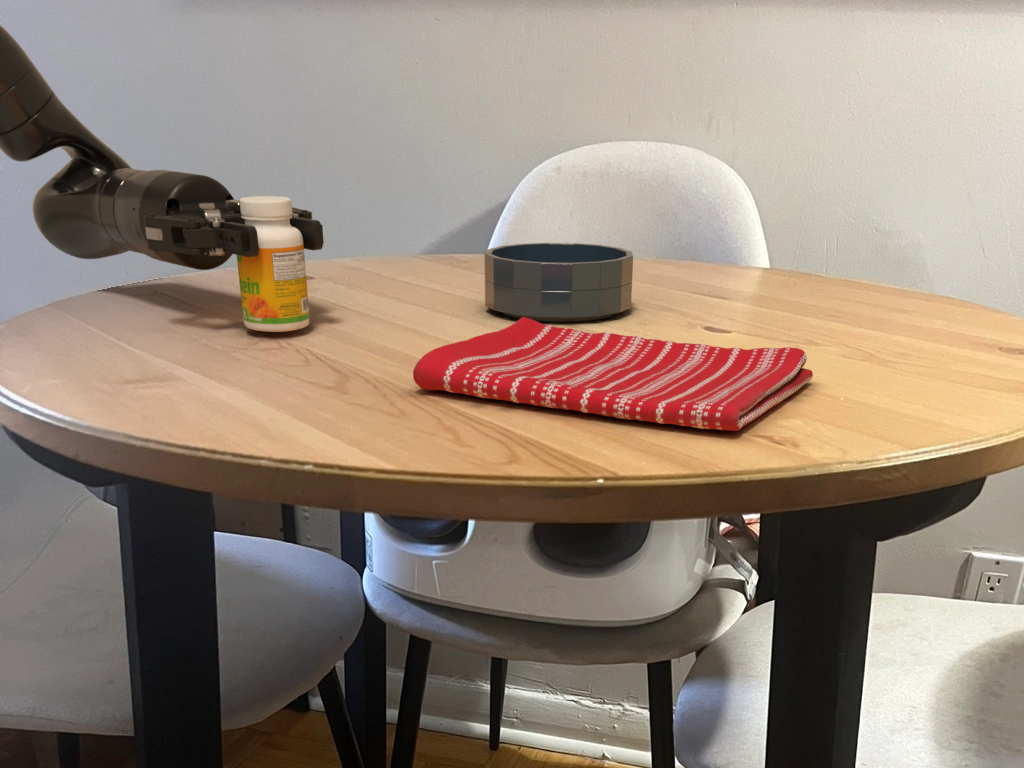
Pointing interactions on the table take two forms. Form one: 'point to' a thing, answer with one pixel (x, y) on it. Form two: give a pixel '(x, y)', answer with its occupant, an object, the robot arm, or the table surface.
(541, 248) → the fruit bowl
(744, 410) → the dish towel
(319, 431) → the table surface
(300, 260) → the supplement bottle
